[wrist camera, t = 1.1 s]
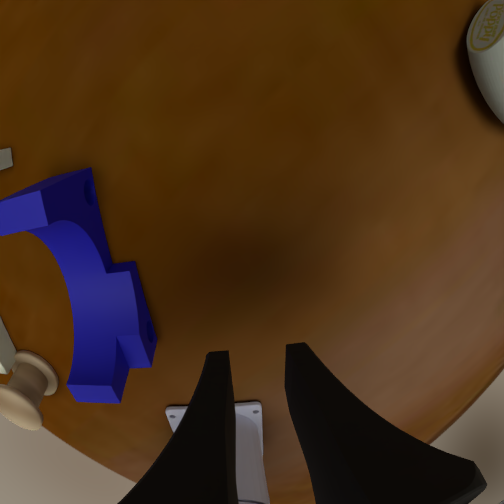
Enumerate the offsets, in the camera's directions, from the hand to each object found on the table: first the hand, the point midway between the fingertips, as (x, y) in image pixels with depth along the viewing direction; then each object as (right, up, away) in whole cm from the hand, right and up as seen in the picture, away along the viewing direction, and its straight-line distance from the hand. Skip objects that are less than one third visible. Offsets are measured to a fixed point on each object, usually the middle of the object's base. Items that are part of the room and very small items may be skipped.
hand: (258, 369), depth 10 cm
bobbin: (-19, -6, +11) cm, 23 cm away
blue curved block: (-10, +3, +8) cm, 13 cm away
